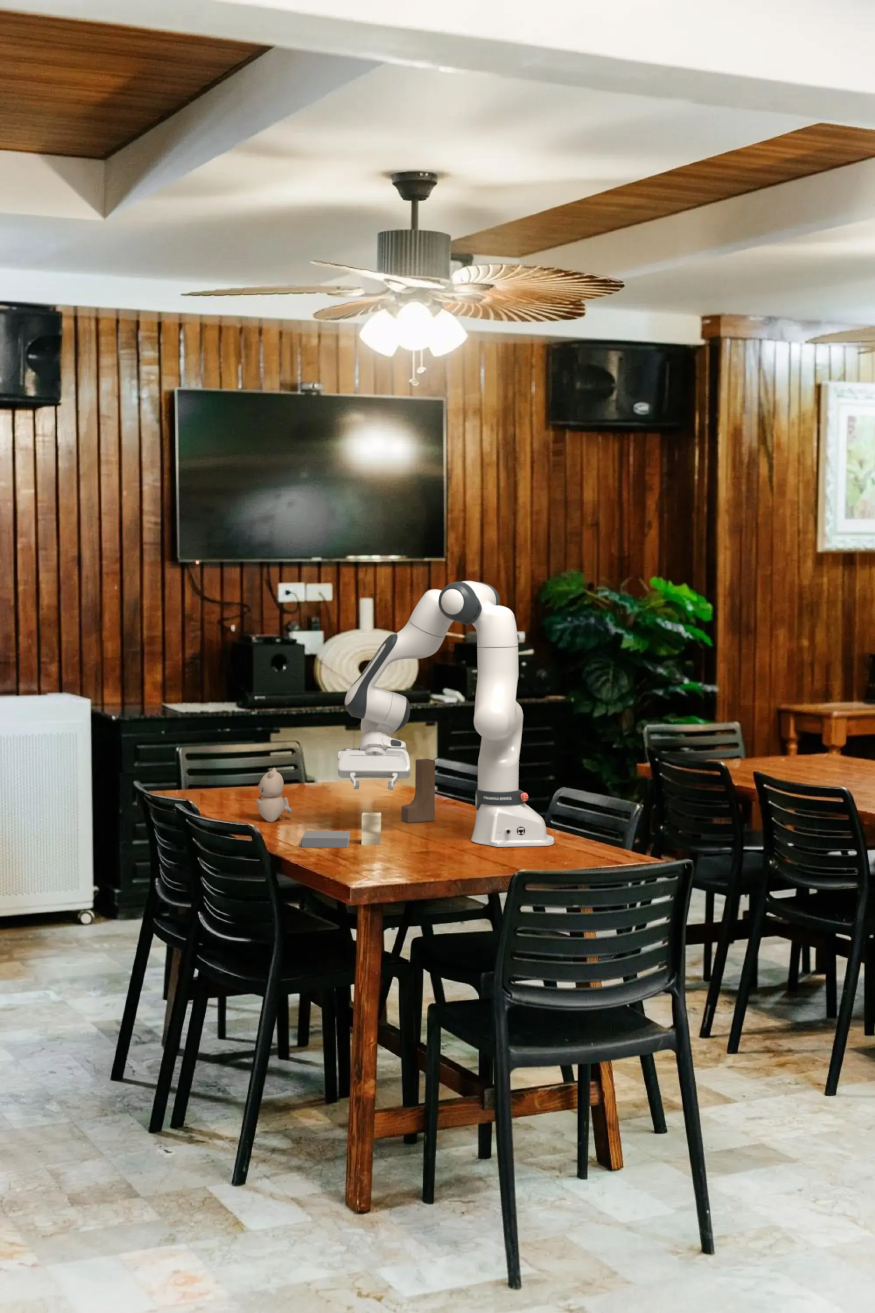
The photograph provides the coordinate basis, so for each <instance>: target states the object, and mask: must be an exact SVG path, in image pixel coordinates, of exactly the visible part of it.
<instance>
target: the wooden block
mask: <svg viewBox="0 0 875 1313" xmlns="http://www.w3.org/2000/svg"><path fill="white" fill-rule="evenodd" d="M414 776H415V780H414V782H415V783H414V784H415V785H414V789H415V790H414V797H413V800H411V802H410V803H408V804H405V805H402V806H401V808H400V809H401V810H400V811H401V812H400V813H401V815H400V818H401V821H402V822H404V823H407V824H414V823H415V824H416V823H428V822H434V821H435V820H436V819H435V816H436V814H435V811H436V807H435V806H436V805H435V803H436V797H435V796H436V792H435V791H436V790H435V789H436V760H434V759H431V758H420V759H419V758H418V759H415V775H414Z"/></svg>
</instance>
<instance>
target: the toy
mask: <svg viewBox="0 0 875 1313" xmlns="http://www.w3.org/2000/svg"><path fill="white" fill-rule="evenodd" d="M284 785H285V784H284V779H283V776H282V775H281V773H279V772H278V771H277V769H276V767H273V768H272V769H271V770H269V771H267V772H266V773H265V774H264V775H263V776H262V778H261V779H260V781H259V782H258V784H257V786H258V792H259V794H260V795H261V796H259V797H257V798H256V800H255V801H256V804H257V810H258V812H259V814H260V816H261V817H262V818H263V819H264V820H265V821H266V822H268V823H273V822H275V821H277V820H278V818H279V817H280V816H281V815H282V814H283V813H284V812H285V811H286V812H287V813H288V814H293V812H294V811H293V808H292V807H290V805H289V800H288V797H284V798H283V796H282V795H283V791H284Z"/></svg>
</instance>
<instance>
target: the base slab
mask: <svg viewBox="0 0 875 1313" xmlns="http://www.w3.org/2000/svg"><path fill="white" fill-rule="evenodd" d="M350 841H351V831H350V830H305V831H304V833H303V835H302V837H301V848H318V849H319V848H325V849H326V848H327V849H329V848H332V849H337V848H338V849H341V848H343V849H348V847H349V846H350V845H349V844H350Z"/></svg>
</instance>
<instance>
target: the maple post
mask: <svg viewBox="0 0 875 1313" xmlns="http://www.w3.org/2000/svg"><path fill="white" fill-rule="evenodd" d="M381 843H382V812H362V814H361V846H381Z"/></svg>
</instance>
